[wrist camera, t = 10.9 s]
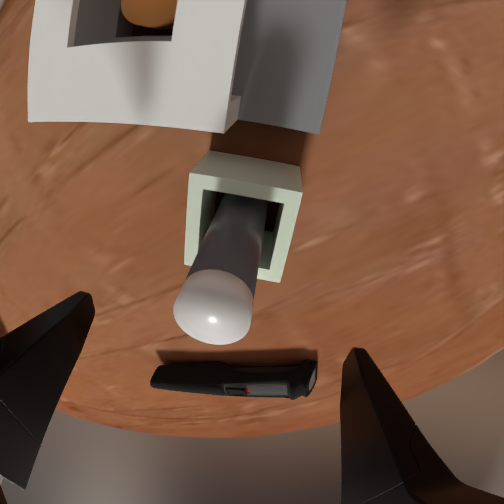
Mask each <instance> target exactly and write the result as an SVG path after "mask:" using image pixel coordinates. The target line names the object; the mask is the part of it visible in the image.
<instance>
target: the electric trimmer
mask: <svg viewBox="0 0 504 504" xmlns="http://www.w3.org/2000/svg"><path fill="white" fill-rule="evenodd" d="M305 377H306V378H305ZM316 380H317V362H312V363H311V361H310V360H305V361H304V362H303V363H302V364H301V365H300V366H286V367H231V368H230V367H228V366H226V365H224V364H222V363H220V362H210V363H191V364H173V365H161V366H159V367H157V369H156V370H155V372H154V374H153V376H152V378H151V381H150V385H151V387H153V388H157V389H165V390H173V391H181V392H191V393H201V394H211V395H221V396H224V395H226V396H243V397H284V398H290V399H292V400H295V399H296V398H298V397H300V396H302V395H303V396H304V397H307V396H308V395H309V394H310V393H311V391H312V389H313V388H314V386H315V383H316Z"/></svg>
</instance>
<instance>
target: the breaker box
mask: <svg viewBox="0 0 504 504" xmlns="http://www.w3.org/2000/svg"><path fill="white" fill-rule="evenodd" d="M346 1H347V0H178V2H177V8H176V13H175V20H174V26H173V33H172V36H133V29H134V24H133V23H131V22H129V21H128V20H127V19H126V18H125V17H124V15H123V13H122V10H121V0H36V3H35V9H34V15H33V23H32V31H31V40H30V51H29V67H28V122H106V123H125V124H140V125H153V126H164V127H174V128H183V129H192V130H200V131H208V132H215V133H223V134H224V133H225V132H226V131H227V130H228V129H229V128H230V127H231V126H232V125H233V124H234V123H235V122H236V121H237V120H244V121H250V122H256V123H262V124H268V125H273V126H279V127H284V128H289V129H294V130H299V131H303V132H308V133H313V134H317V135H319V134H320V130H321V125H322V121H323V116H324V112H325V107H326V102H327V98H328V93H329V88H330V84H331V79H332V74H333V69H334V64H335V59H336V54H337V49H338V44H339V39H340V34H341V28H342V23H343V18H344V12H345V6H346Z"/></svg>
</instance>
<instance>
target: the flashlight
mask: <svg viewBox="0 0 504 504" xmlns="http://www.w3.org/2000/svg"><path fill="white" fill-rule="evenodd" d="M268 202H269V201H268V200H263V199H257V198H252V197H247V196H241V195H235V194H230V193H225V195H224V197H223V199H222V201H221V203H220V205H219V207H218V209H217V212H216V214H215V216H214V218H213V220H212V222H211V224H210V227H209V229H208V231H207V233H206V235H205V237H204V240H203V242H202V244H201V246H200V248H199V251H198V253H197V255H196V257H195V260H194V262H193V264H192V266H191V268H190V271H189V273H188V275H187V278H186V280H185V281H184V283H183V285H182V288H181V290H180V292H179V294H178V297H177V299H176V301H175V304H174V309H173V312H174V317H175V320H176V322H177V323H178V325H179V326H180V327H181V329H182V330H183V331H184V332H186V333H187V334H188V335H190V336H191V337H193V338H195V339H197V340H199V341H202V342H205V343H209V344H217V345H223V344H230V343H233V342H236V341H238V340H240V339H241V338H243V337H244V336H245V335H246V334H247V332H248V330H249V328H250V323H251V317H252V310H253V303H254V302H253V300H254V294H255V287H256V281H257V275H258V268H259V262H260V255H261V249H262V242H263V235H264V229H265V222H266V216H267V209H268Z"/></svg>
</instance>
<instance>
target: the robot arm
mask: <svg viewBox="0 0 504 504" xmlns="http://www.w3.org/2000/svg"><path fill="white" fill-rule="evenodd" d="M94 315H95V308H94V304H93V300H92V296H91V294H89V293H87V292H83V291H79V292H77V293H76V294H74V295H72V296H70V297H69V298H67V299H65V300H63V301H62V302H60V303H58V304H56V305H55V306H53V307H51V308H50V309H48V310H46V311H45V312H43V313H41V314H39V315H38V316H36V317H34V318H33V319H31V320H29V321H28V322H26V323H24V324H23V325H21V326H19V327H18V328H16V329H14V330H13V331H11V332H10V333H8V334H6V336H3V337H1V338H0V484H1V482H2V479H3V477H4V478H5V479H7V480H9V481H10V482H12V483H14V484H15V485H17V486H19V487H20V488H22V489H24V490H25V488H26V486H27V483H28V480H29V477H30V474H31V471H32V468H33V465H34V462H35V460H36V457H37V454H38V451H39V449H40V446H41V443H42V440H43V438H44V435H45V433H46V430H47V427H48V425H49V422H50V420H51V418H52V415H53V413H54V410H55V408H56V406H57V403H58V401H59V399H60V396H61V394H62V392H63V390H64V387H65V385H66V383H67V381H68V378H69V376H70V374H71V372H72V370H73V368H74V366H75V363H76V361H77V359H78V357H79V355H80V353H81V351H82V348H83V345H84V343H85V340H86V337H87V334H88V332H89V329H90V326H91V324H92V321H93V319H94ZM340 422H341V477H342V478H341V504H504V498H503V497H500V496H497V495H494V494H491V493H488V492H485V491H482V490H479V489H477V488H474V487H471V486H468V485H466V484H464V483H463V482H461V481H460V480H459V479H457V478H456V477H455V476H454V474H453V473H452V472H451V471H450V469H449V468H448V467H447V466H446V465H445V463H444V462H443V461H442V459H441V458H440V457H439V456H438V454H437V453H436V452H435V451H434V449H433V448H432V447H431V445H430V444H429V443H428V441H427V440H426V438H425V437H424V435H423V434H422V433H421V431H420V430H419V428H418V426H417V425H415V422H414V421H413V419H412V417H411V416H410V415H409V413H408V411H407V410H406V409H405V407H404V405H403V404H402V402H401V401H400V399H399V398H398V396H397V395H396V394H395V392H394V391H393V389H392V388H391V386H390V385H389V383H388V382H387V380H386V379H385V377H384V376H383V374H382V373H381V371H380V370H379V369H378V367H377V366H376V364H375V363H374V361H373V360H372V358H371V357H370V356H369V354H368V353H367V351H366V350H365V349H363V348H357V347H354V348H352V349H351V351H350V352H349V354H348V356H347V358H346V359H345V361H344V363H343V368H342V385H341V399H340ZM0 504H7V502H6V499H5V497H4V494H3V491H2V488H1V485H0Z"/></svg>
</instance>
